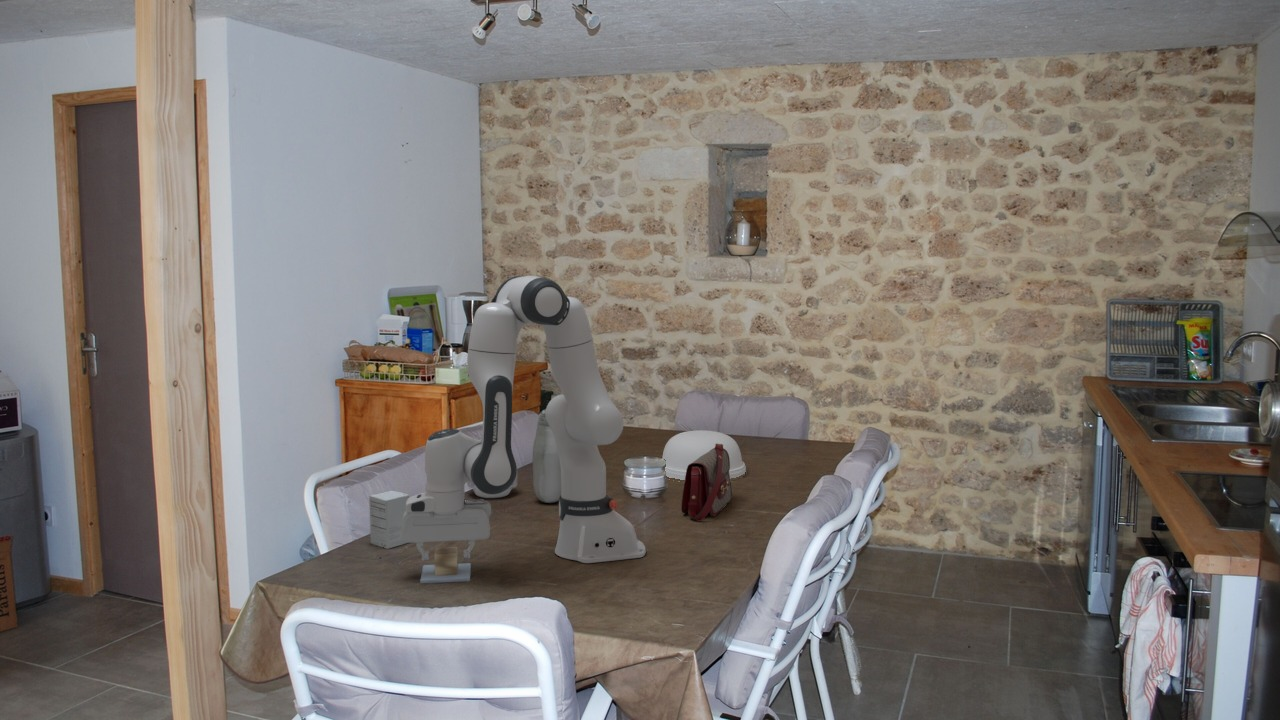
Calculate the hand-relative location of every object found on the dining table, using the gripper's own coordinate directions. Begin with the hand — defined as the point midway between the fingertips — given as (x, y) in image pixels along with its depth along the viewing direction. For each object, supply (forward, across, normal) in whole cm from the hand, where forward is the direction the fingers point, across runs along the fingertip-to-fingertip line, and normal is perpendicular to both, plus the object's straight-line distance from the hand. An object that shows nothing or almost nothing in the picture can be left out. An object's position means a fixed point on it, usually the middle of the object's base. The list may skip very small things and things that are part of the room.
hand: (446, 559), depth 227 cm
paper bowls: (+4, -11, -74) cm, 74 cm away
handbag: (+4, -72, -48) cm, 87 cm away
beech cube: (+3, 0, 0) cm, 3 cm away
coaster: (+4, 0, 0) cm, 4 cm away
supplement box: (+4, +15, -26) cm, 31 cm away
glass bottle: (+4, -28, -62) cm, 69 cm away
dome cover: (+4, -81, -95) cm, 125 cm away
